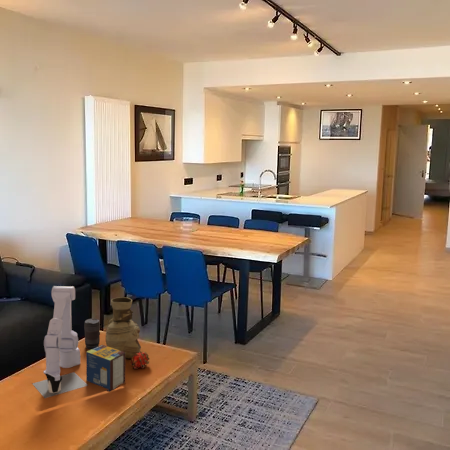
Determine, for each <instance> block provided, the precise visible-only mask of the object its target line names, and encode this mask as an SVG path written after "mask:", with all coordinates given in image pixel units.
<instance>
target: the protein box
mask: <svg viewBox="0 0 450 450" xmlns="http://www.w3.org/2000/svg"><path fill="white" fill-rule="evenodd" d="M85 357H86V366H85V367H86V381H87V382H89V383H91V384H94V385H96V386H99V387H102V388H104V389H106V391H107V392H112V391H115V389H118V388H119V387H120V385H125V384H126V359H125V352H123V351H120V350H117V349H114V348H111V347H108V346H107V345H106V344H101V345H100V344H99V346H98V347H96V348H94V349H88V350H87V351H86V355H85Z"/></svg>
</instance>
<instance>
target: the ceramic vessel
mask: <svg viewBox="0 0 450 450" xmlns="http://www.w3.org/2000/svg"><path fill="white" fill-rule="evenodd" d="M110 304H111V307H112V318H110V320H109V321H108V322H107V323H108V325H107V328H106V331H105V346H108V347H111V348H114V349H117V350H120V351H123V352H125V360H126V359H128V360H132V357H133V356H134V355H135V353H139V352H140V351H141V348H142V347H141V346H142V345H141V344H140V341H139V340H138V339H139V338H140V332H141V329H140V327H139V325H138V324H137V323H138V322H137V321H133V320H132V319H133V313H134V311H133V310H132V309H131V308H132V304H133V299H131V298H130V297H127V296H126V297H124V296H121V297H120V296H119V297H115V298H111V300H110Z"/></svg>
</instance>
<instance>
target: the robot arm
mask: <svg viewBox="0 0 450 450" xmlns="http://www.w3.org/2000/svg"><path fill="white" fill-rule="evenodd" d="M51 298H52V301H53V303H54V309H53V316H52V318H51V319H50V320H49V323H48V329H47V333H46V335H45V336H44V337H43V338H44V340H43V346H44V347H43V348H44V352H45V366H46V367H45V370H43V372H42V373H43V374H44V375H45V377H46V380H48V381H50V383H51V387H52V391H53V393H54V392H58V389H59V385H60V382H61V380H62V375H60V374H61V368H63V369H69V368H72V367H75V366H79V365H81V350H80V348H79V347H78V346H79V337H78V335H79V334H78V333H77V332H76V331H74V330H72V329H73V327H72V326H73V325H72V301H74V300H76V288H75V286H73V285H72V286H64V285H63V286H61V285H60V286H59V285H58V286H57V285H53V286H52V288H51Z"/></svg>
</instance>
